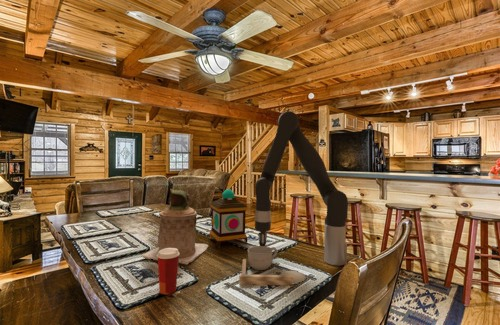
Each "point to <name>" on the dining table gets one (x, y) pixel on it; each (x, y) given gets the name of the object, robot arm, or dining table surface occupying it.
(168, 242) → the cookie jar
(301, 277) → the felt coaster
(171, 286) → the paper cup
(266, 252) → the teacup
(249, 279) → the cup rest
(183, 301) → the dining table surface
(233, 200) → the decorative lantern
